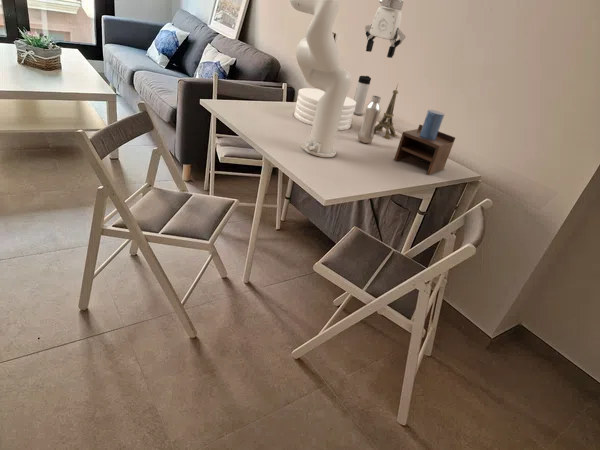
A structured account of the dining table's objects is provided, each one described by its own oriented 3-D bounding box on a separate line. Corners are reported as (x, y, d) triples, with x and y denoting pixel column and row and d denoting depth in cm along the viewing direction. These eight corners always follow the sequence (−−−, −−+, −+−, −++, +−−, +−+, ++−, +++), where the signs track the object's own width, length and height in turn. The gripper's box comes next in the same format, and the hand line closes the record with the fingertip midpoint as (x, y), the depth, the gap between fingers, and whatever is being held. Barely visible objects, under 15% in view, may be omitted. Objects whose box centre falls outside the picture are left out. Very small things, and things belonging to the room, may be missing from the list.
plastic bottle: (371, 146, 182) (384, 100, 173) (356, 142, 183) (368, 96, 173) (371, 142, 188) (384, 97, 178) (357, 138, 188) (369, 93, 179)
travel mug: (363, 114, 232) (373, 77, 222) (358, 116, 226) (368, 78, 217) (353, 111, 234) (362, 74, 224) (348, 112, 229) (357, 75, 219)
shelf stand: (428, 175, 163) (441, 141, 156) (393, 160, 171) (404, 127, 165) (443, 169, 173) (455, 137, 167) (409, 155, 181) (420, 124, 175)
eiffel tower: (377, 129, 210) (392, 78, 198) (396, 135, 206) (413, 84, 194) (368, 131, 202) (383, 78, 190) (388, 139, 197) (405, 85, 185)
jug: (430, 141, 161) (439, 115, 156) (415, 135, 164) (423, 110, 159) (440, 138, 168) (449, 113, 163) (426, 132, 172) (435, 108, 167)
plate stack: (351, 119, 216) (356, 97, 211) (349, 134, 192) (356, 109, 186) (298, 107, 217) (302, 85, 211) (290, 120, 192) (294, 95, 187)
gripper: (367, -1, 155) (355, 48, 163) (407, 8, 146) (393, 59, 155) (377, 2, 161) (365, 49, 169) (417, 10, 152) (402, 60, 160)
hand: (378, 54), depth 162 cm, fingers open, 9 cm apart
